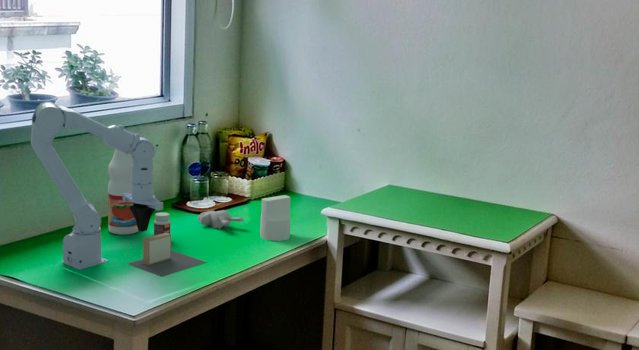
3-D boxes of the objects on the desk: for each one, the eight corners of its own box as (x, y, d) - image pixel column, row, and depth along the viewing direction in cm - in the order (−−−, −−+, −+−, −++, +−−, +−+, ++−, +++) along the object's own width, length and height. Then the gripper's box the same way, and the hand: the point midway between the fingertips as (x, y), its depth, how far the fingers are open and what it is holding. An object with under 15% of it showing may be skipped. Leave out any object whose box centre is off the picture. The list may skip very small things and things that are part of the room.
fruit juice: (134, 224, 259) (133, 135, 253) (144, 233, 252) (144, 141, 245) (104, 228, 255) (102, 137, 248) (114, 236, 247) (112, 143, 241)
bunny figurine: (213, 206, 269) (246, 211, 259) (214, 222, 270) (247, 227, 260) (190, 212, 262) (223, 216, 252) (192, 228, 263) (224, 233, 253)
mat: (161, 278, 215) (161, 276, 215) (126, 265, 224) (126, 263, 223) (207, 263, 227) (207, 262, 227) (172, 251, 236) (172, 250, 236)
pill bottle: (166, 245, 242) (166, 217, 240) (151, 243, 242) (151, 215, 241) (173, 240, 246) (173, 212, 244) (157, 238, 247) (157, 211, 245)
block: (148, 265, 223) (148, 240, 221) (143, 263, 224) (143, 238, 222) (171, 258, 229) (171, 234, 227) (166, 257, 230) (166, 232, 228)
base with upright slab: (271, 242, 248) (272, 203, 245) (254, 234, 255) (255, 196, 252) (295, 237, 254) (297, 199, 251) (278, 230, 260) (279, 192, 258)
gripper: (171, 184, 224) (171, 233, 227) (136, 175, 233) (137, 222, 236) (151, 189, 219) (151, 238, 222) (116, 179, 227) (116, 227, 230)
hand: (142, 230), depth 228 cm, fingers closed
